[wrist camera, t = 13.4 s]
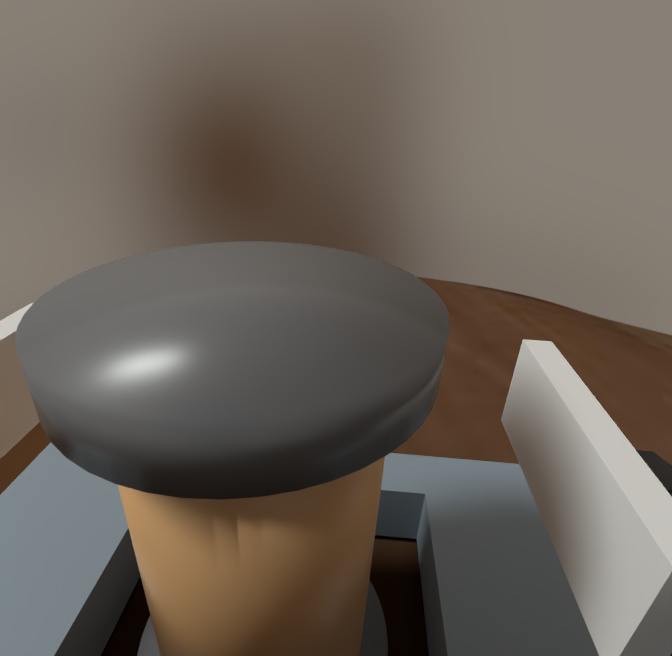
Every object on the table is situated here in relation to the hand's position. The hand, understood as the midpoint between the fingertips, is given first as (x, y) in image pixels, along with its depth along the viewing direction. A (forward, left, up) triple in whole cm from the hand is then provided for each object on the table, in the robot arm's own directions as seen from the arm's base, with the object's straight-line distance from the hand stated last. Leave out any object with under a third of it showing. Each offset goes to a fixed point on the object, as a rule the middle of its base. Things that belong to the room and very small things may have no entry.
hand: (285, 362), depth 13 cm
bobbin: (0, +3, -8) cm, 9 cm away
